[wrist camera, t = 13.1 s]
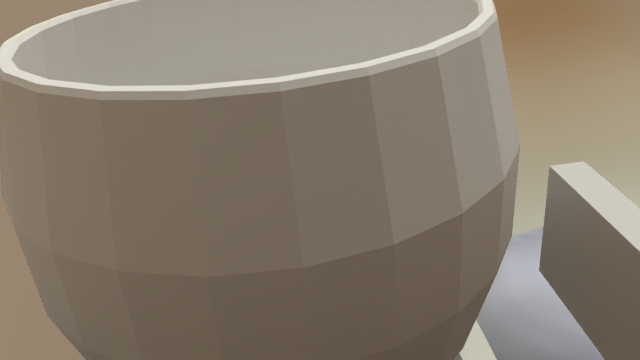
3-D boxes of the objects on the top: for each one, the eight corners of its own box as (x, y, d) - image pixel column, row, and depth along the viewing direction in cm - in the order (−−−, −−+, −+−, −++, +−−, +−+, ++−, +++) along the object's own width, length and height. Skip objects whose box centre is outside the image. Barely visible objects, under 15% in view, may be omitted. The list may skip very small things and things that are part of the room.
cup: (461, 369, 23) (479, -42, 16) (523, 718, 13) (631, 84, 7) (194, 369, 24) (103, -15, 17) (79, 691, 15) (-224, 124, 8)
